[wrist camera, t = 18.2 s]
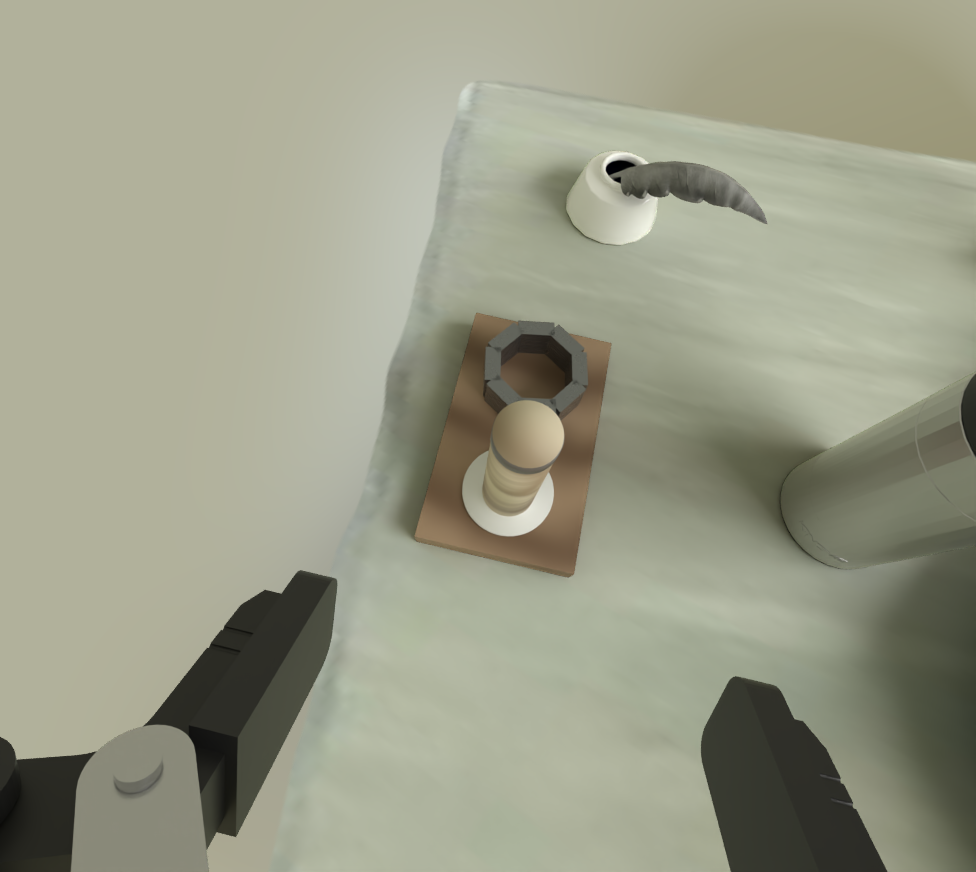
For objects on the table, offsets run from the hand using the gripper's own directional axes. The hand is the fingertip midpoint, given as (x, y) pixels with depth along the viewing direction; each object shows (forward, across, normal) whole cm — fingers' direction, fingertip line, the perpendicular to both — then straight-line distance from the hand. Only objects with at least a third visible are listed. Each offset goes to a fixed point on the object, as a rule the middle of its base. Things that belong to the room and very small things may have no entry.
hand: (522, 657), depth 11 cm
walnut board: (+33, 0, +10) cm, 35 cm away
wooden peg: (+28, 0, +12) cm, 31 cm away
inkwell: (+51, -8, -8) cm, 52 cm away
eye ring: (+35, 0, +5) cm, 36 cm away
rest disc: (+28, 0, +12) cm, 31 cm away
